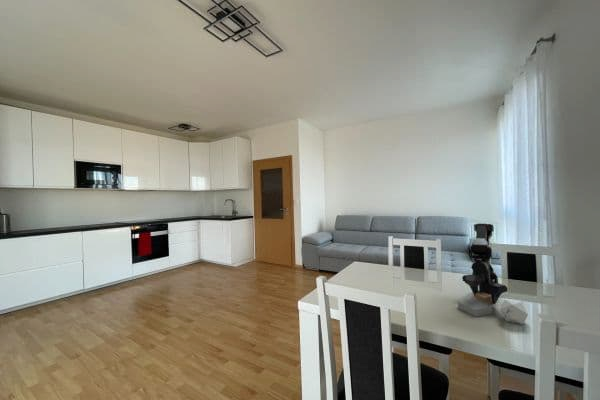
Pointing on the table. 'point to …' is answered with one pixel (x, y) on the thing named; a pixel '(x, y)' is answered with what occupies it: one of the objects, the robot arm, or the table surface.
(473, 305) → the base
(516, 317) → the die
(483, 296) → the block
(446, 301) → the table surface
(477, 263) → the robot arm
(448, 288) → the table surface
